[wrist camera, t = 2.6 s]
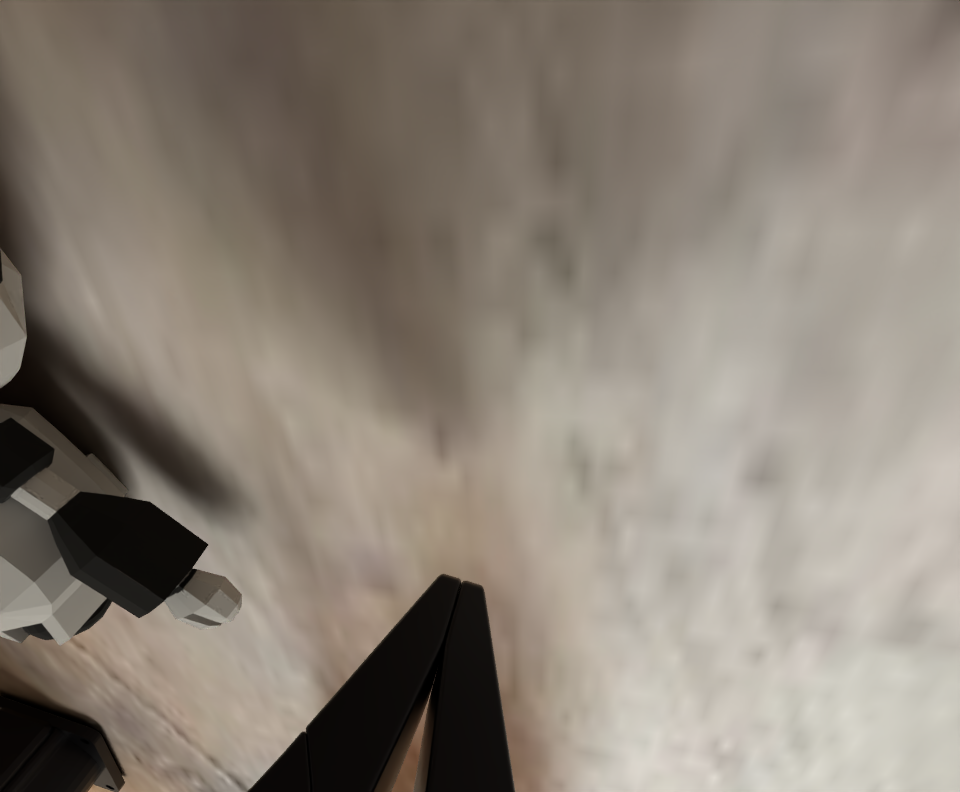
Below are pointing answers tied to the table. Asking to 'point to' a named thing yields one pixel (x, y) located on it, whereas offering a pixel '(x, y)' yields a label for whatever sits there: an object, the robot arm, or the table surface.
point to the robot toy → (82, 526)
